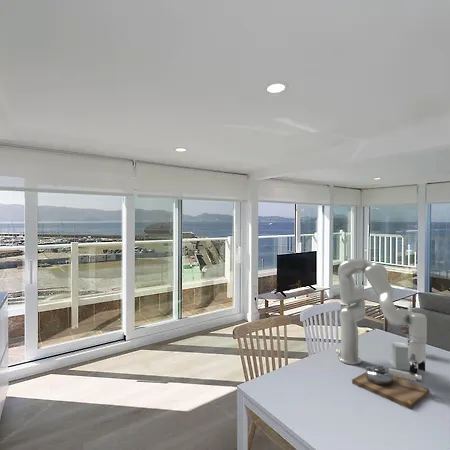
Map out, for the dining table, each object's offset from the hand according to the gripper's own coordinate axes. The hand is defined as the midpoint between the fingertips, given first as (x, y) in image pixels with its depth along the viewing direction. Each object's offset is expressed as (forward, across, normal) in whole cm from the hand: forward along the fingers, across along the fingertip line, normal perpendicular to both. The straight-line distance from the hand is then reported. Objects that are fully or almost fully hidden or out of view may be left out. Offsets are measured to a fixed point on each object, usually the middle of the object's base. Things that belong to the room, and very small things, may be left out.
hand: (417, 372), depth 152 cm
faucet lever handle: (+4, +12, -7) cm, 14 cm away
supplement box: (+6, -14, -14) cm, 21 cm away
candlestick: (+6, -39, -19) cm, 44 cm away
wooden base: (+6, +14, -7) cm, 17 cm away
